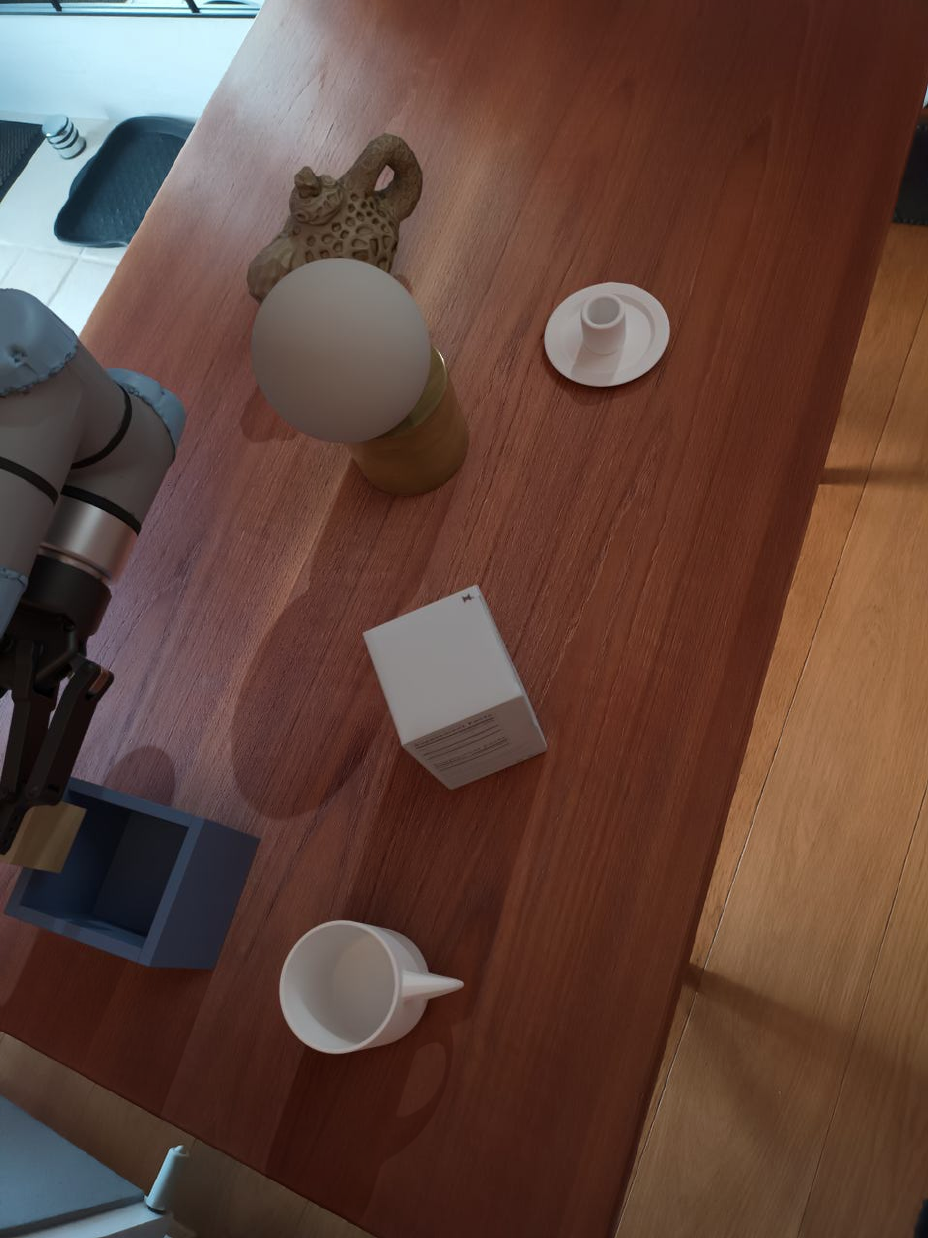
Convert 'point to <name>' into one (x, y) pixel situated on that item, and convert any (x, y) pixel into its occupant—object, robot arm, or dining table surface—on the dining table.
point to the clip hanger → (45, 837)
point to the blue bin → (140, 881)
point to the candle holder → (607, 334)
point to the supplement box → (454, 690)
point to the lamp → (360, 373)
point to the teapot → (343, 215)
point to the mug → (356, 987)
